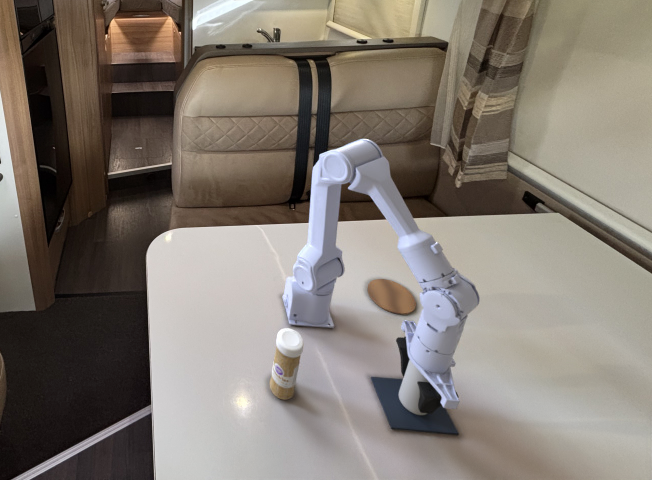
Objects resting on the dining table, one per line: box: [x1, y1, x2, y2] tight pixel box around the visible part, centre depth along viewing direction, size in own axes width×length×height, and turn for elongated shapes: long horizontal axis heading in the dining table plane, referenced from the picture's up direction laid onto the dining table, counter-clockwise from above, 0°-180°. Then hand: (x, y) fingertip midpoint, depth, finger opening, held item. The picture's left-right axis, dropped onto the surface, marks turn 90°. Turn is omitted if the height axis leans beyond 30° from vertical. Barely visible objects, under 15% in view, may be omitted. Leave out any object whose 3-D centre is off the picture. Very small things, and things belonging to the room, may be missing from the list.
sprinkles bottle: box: [269, 327, 305, 401], centre depth 78 cm, size 5×5×14 cm
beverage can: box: [399, 360, 429, 415], centre depth 75 cm, size 5×5×12 cm
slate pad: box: [370, 376, 460, 436], centre depth 77 cm, size 11×9×1 cm
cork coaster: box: [366, 278, 417, 316], centre depth 100 cm, size 10×10×1 cm
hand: (416, 392), depth 76 cm, fingers open, 6 cm apart
